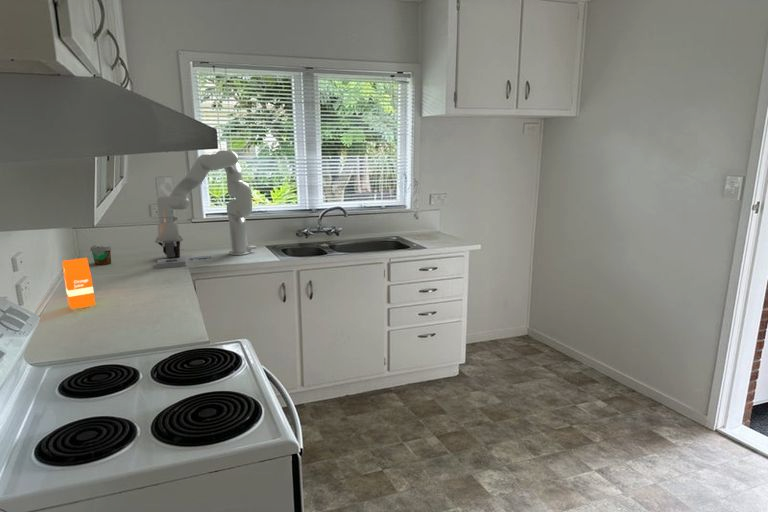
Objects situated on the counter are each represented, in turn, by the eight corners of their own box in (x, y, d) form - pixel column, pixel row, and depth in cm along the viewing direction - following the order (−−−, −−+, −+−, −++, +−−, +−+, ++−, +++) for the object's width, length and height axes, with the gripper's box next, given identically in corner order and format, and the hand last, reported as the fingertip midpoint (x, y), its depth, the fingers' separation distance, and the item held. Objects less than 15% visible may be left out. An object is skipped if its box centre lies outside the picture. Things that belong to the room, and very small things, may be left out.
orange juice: (68, 306, 209) (60, 259, 205) (92, 302, 214) (85, 255, 210) (71, 311, 203) (63, 262, 198) (96, 306, 208) (89, 259, 204)
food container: (87, 264, 278) (84, 247, 276) (97, 262, 283) (94, 244, 281) (103, 266, 273) (100, 248, 271) (113, 264, 279) (110, 246, 277)
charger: (174, 255, 276) (173, 240, 275) (174, 256, 273) (173, 242, 271) (166, 256, 275) (165, 241, 273) (166, 257, 271) (164, 242, 270)
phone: (210, 257, 295) (210, 255, 294) (211, 259, 290) (211, 257, 290) (190, 258, 291) (190, 257, 291) (190, 261, 286) (190, 259, 286)
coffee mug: (178, 259, 288) (176, 242, 286) (163, 259, 288) (161, 242, 286) (186, 254, 299) (184, 237, 297) (171, 254, 299) (170, 238, 297)
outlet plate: (185, 261, 282) (185, 257, 281) (185, 265, 273) (185, 261, 272) (158, 264, 277) (157, 259, 277) (157, 268, 268) (156, 264, 268)
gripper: (183, 218, 276) (187, 251, 280) (150, 220, 270) (154, 253, 274) (183, 220, 269) (187, 253, 273) (149, 222, 263) (153, 256, 267)
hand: (170, 253), depth 274 cm, fingers closed on charger, 4 cm apart
